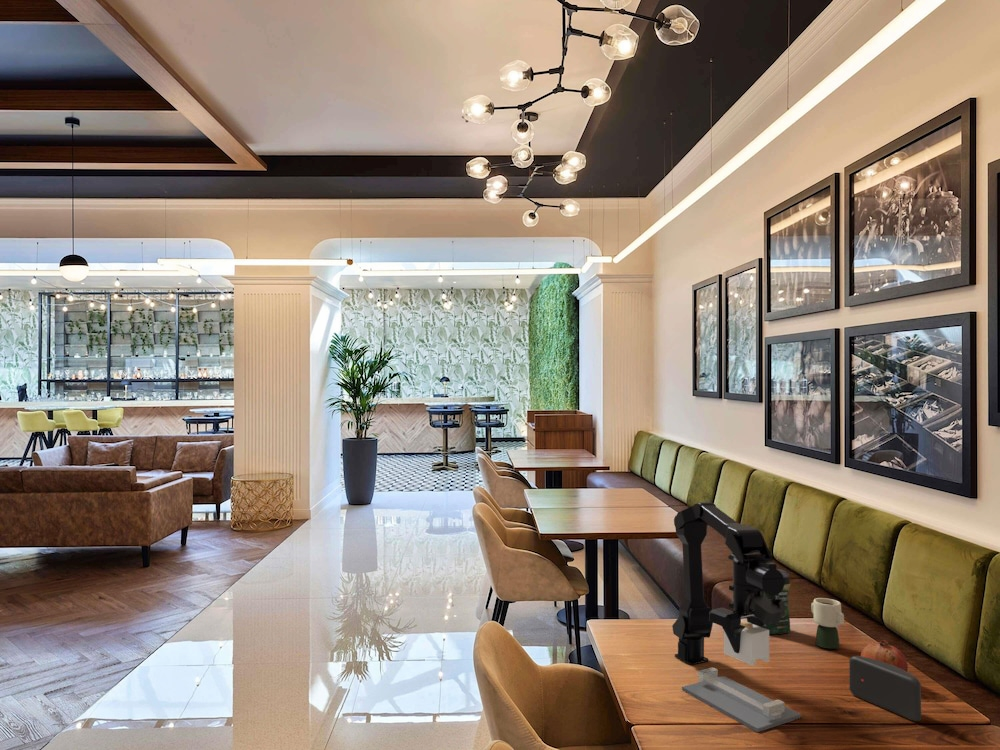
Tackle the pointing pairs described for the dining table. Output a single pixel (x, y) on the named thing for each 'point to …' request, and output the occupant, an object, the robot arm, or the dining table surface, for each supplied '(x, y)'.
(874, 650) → the fruit
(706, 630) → the robot arm
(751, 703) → the DIN rail
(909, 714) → the dark grey smartphone
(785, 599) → the coffee jar
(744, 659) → the block
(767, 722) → the mounting plate
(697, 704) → the dining table surface
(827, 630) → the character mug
